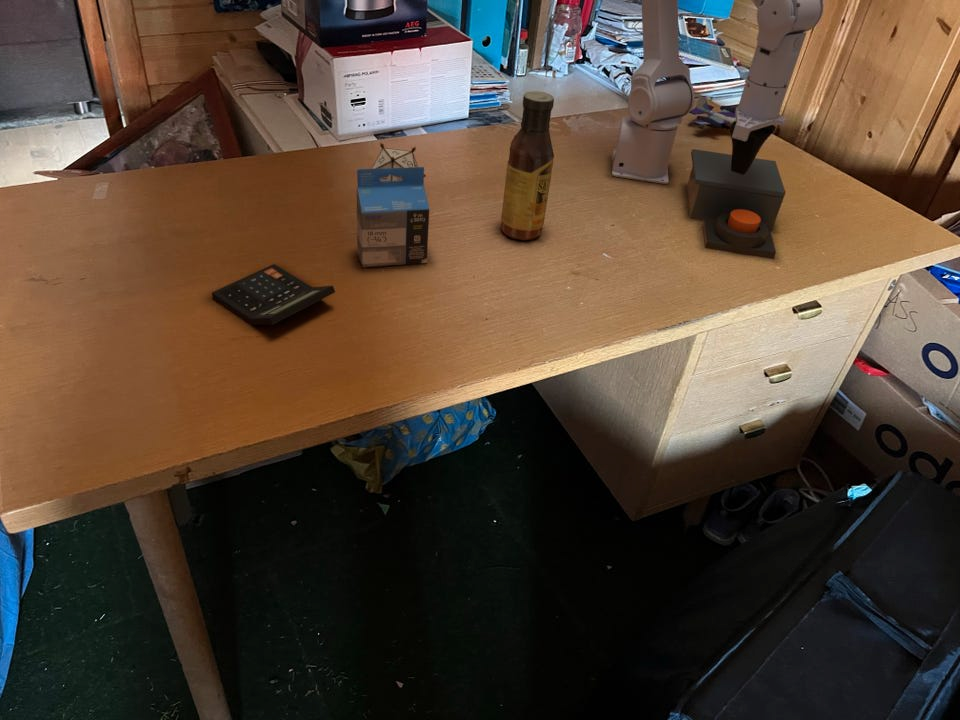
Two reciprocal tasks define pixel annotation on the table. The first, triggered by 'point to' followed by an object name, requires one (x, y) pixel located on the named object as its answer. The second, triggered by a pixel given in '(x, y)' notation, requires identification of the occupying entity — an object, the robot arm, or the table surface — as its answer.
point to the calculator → (269, 296)
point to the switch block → (738, 238)
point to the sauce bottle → (529, 170)
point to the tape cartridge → (392, 217)
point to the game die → (394, 161)
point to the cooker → (729, 202)
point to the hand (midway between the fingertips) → (738, 171)
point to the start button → (744, 221)
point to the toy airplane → (713, 115)
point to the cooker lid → (736, 174)
